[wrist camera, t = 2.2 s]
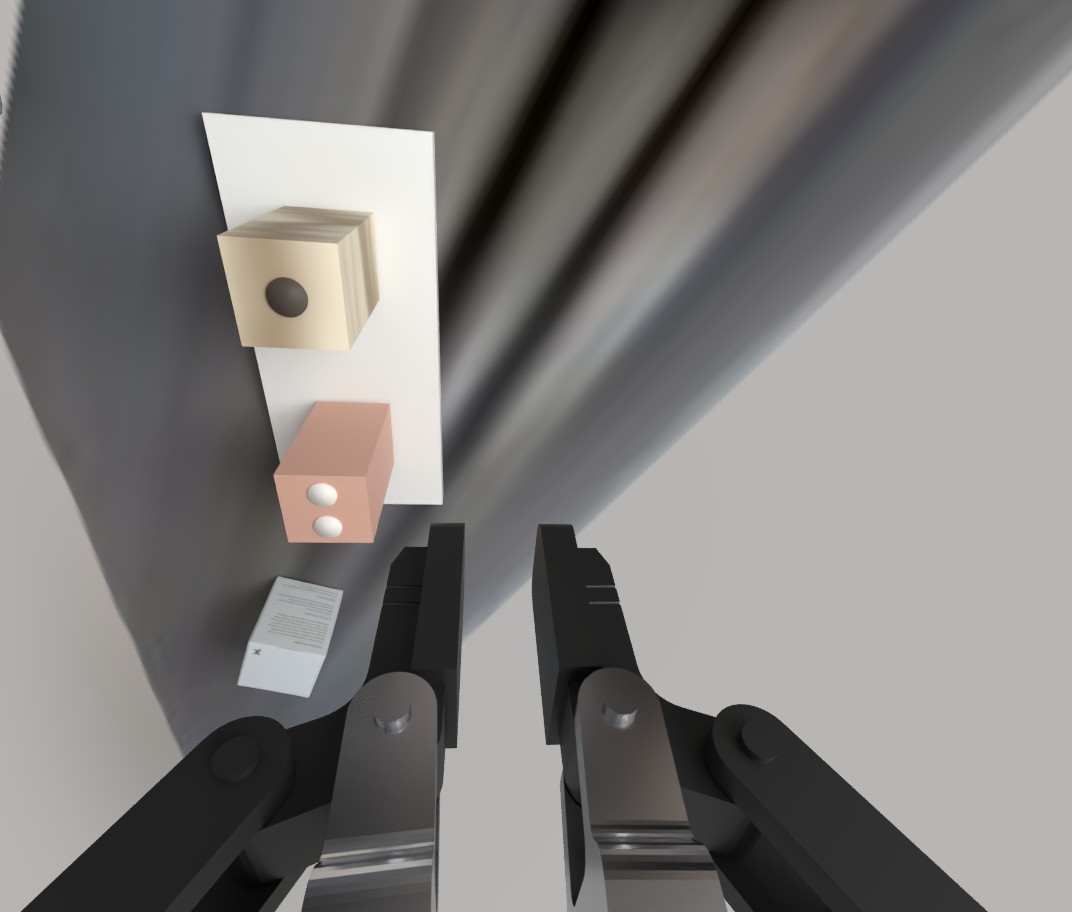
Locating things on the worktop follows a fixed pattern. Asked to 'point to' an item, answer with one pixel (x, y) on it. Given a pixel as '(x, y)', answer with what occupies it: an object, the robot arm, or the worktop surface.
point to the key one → (302, 277)
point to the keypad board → (403, 267)
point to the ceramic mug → (0, 106)
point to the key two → (337, 473)
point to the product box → (291, 637)
